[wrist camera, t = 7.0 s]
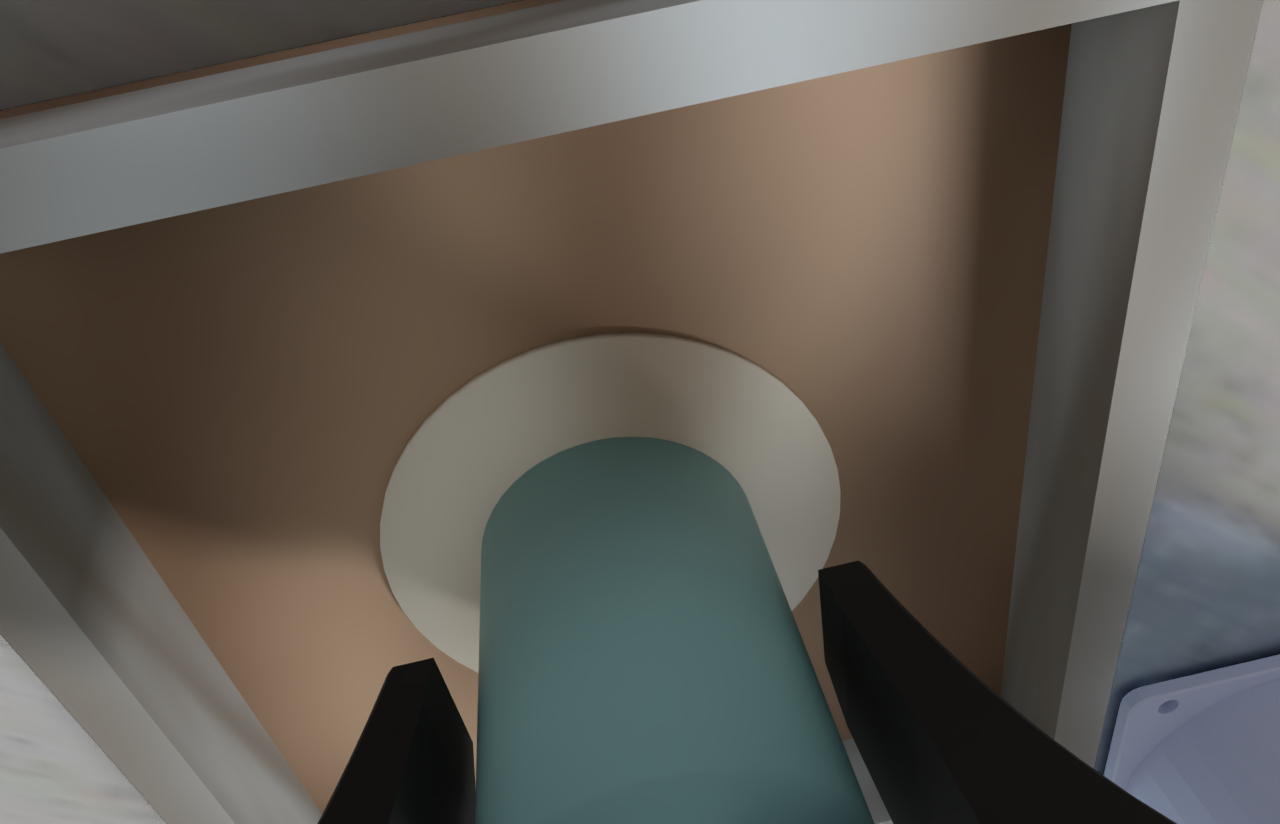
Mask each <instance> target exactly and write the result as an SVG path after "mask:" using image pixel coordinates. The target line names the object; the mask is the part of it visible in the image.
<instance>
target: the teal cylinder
mask: <svg viewBox="0 0 1280 824" xmlns="http://www.w3.org/2000/svg"><path fill="white" fill-rule="evenodd" d="M475 824H874V821H873V819H872V816H871V813H870V811H869V808H868V806H867V803H866V801H865V798H864V795H863V793H862V790H861V788H860V785H859V783H858V780H857V778H856V775H855V772H854V770H853V767H852V765H851V762H850V760H849V757H848V755H847V752H846V749H845V747H844V744H843V742H842V739H841V737H840V734H839V731H838V729H837V726H836V724H835V721H834V719H833V716H832V714H831V711H830V708H829V706H828V703H827V701H826V698H825V696H824V693H823V691H822V688H821V685H820V683H819V680H818V678H817V675H816V673H815V670H814V667H813V665H812V662H811V660H810V657H809V655H808V652H807V650H806V647H805V644H804V642H803V639H802V637H801V634H800V632H799V629H798V627H797V624H796V621H795V619H794V616H793V614H792V611H791V609H790V606H789V603H788V601H787V598H786V596H785V593H784V591H783V588H782V586H781V583H780V580H779V578H778V575H777V573H776V570H775V568H774V565H773V563H772V560H771V557H770V555H769V552H768V550H767V547H766V545H765V542H764V540H763V537H762V534H761V532H760V529H759V527H758V524H757V522H756V519H755V516H754V514H753V511H752V509H751V506H750V504H749V501H748V499H747V496H746V494H745V492H744V491H743V489H742V487H741V486H740V484H739V483H738V481H737V480H736V479H735V478H734V477H733V476H732V474H731V473H730V472H729V471H728V470H727V469H725V468H724V467H723V466H722V465H721V464H720V463H718V462H717V461H716V460H714V459H712V458H711V457H709V456H708V455H706V454H704V453H702V452H700V451H698V450H696V449H693V448H691V447H689V446H686V445H683V444H679V443H676V442H673V441H668V440H663V439H657V438H648V437H615V438H608V439H602V440H596V441H592V442H588V443H584V444H581V445H577V446H574V447H572V448H569V449H566V450H564V451H561V452H559V453H557V454H555V455H553V456H551V457H549V458H547V459H545V460H543V461H541V462H540V463H538V464H537V465H535V466H534V467H532V468H531V469H529V470H528V471H527V472H525V473H524V474H523V475H522V476H521V477H520V478H518V479H517V480H516V481H515V482H514V483H513V484H512V485H511V486H510V487H509V488H508V490H507V491H506V492H505V493H504V494H503V495H502V496H501V498H500V499H499V501H498V503H497V504H496V506H495V507H494V509H493V510H492V513H491V515H490V517H489V519H488V521H487V524H486V527H485V531H484V535H483V540H482V550H481V588H480V630H479V672H478V715H477V757H476V799H475Z"/></svg>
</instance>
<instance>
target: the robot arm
mask: <svg viewBox="0 0 1280 824" xmlns="http://www.w3.org/2000/svg"><path fill="white" fill-rule="evenodd" d="M818 577H819V590H820V604H821V617H822V631H823V644H824V658H825V663H826V666H827V669H828V672H829V675H830V678H831V681H832V684H833V687H834V690H835V693H836V696H837V698H838V701H839V704H840V707H841V710H842V713H843V715H844V718H845V721H846V724H847V726H848V729H849V731H850V733H851V735H852V737H853V739H854V742H855V744H856V746H857V748H858V750H859V752H860V754H861V757H862V759H863V761H864V763H865V765H866V767H867V769H868V771H869V774H870V776H871V778H872V780H873V782H874V784H875V786H876V788H877V790H878V792H879V795H880V797H881V799H882V801H883V803H884V805H885V807H886V809H887V811H888V814H889V816H890V818H891V820H892V822H893V824H1280V654H1279V655H1274V656H1270V657H1266V658H1261V659H1257V660H1253V661H1249V662H1244V663H1240V664H1236V665H1232V666H1227V667H1223V668H1219V669H1214V670H1210V671H1206V672H1202V673H1197V674H1193V675H1189V676H1184V677H1180V678H1176V679H1172V680H1167V681H1163V682H1159V683H1155V684H1150V685H1146V686H1142V687H1139V688H1136V689H1134V690H1132V691H1130V692H1129V693H1127V694H1126V695H1125V696H1124V697H1123V699H1122V701H1121V703H1120V707H1119V711H1118V716H1117V720H1116V724H1115V729H1114V733H1113V737H1112V742H1111V746H1110V750H1109V754H1108V759H1107V763H1106V767H1105V772H1104V776H1103V775H1102V774H1100V773H1099V772H1098V771H1096V770H1095V769H1093V768H1092V767H1090V766H1089V765H1088V764H1086V763H1085V762H1084V761H1082V760H1081V759H1079V758H1078V757H1077V756H1075V755H1074V754H1073V753H1071V752H1070V751H1069V750H1067V749H1066V748H1064V747H1063V746H1062V745H1060V744H1059V743H1058V742H1056V741H1055V740H1054V739H1052V738H1051V737H1050V736H1049V735H1047V734H1046V733H1045V732H1043V731H1042V730H1041V729H1040V728H1038V727H1037V726H1036V725H1034V724H1033V723H1032V722H1031V721H1029V720H1028V719H1027V718H1026V717H1024V716H1023V715H1022V714H1021V713H1020V712H1018V711H1017V710H1016V709H1015V708H1014V707H1012V706H1011V705H1010V704H1009V703H1008V702H1006V701H1005V700H1004V699H1003V698H1002V697H1000V696H999V695H998V694H997V693H996V692H994V691H993V690H992V689H991V688H990V687H989V686H987V685H986V684H985V683H984V682H983V681H982V680H981V679H979V678H978V677H977V676H976V675H975V674H974V673H973V672H972V671H970V670H969V669H968V668H967V667H966V666H965V665H964V664H963V663H962V662H961V661H960V660H958V659H957V658H956V657H955V656H954V655H953V654H952V653H951V652H950V651H949V650H948V649H947V648H945V647H944V646H943V645H942V644H941V643H940V642H939V641H938V640H937V639H936V638H935V637H934V636H933V635H932V634H931V633H930V632H929V631H928V630H927V629H926V628H925V627H924V626H923V625H922V624H921V623H920V622H919V621H918V620H917V619H916V618H915V617H914V616H913V615H912V614H911V613H910V612H909V611H908V610H907V609H906V608H905V607H904V606H903V605H902V604H901V603H900V602H899V601H898V600H897V599H896V598H895V597H894V596H893V595H892V594H891V593H890V591H889V590H888V589H887V588H886V587H885V586H884V585H883V584H882V583H881V582H880V581H879V579H878V578H877V577H876V576H875V575H874V574H873V573H872V572H871V570H870V569H869V568H868V567H867V566H866V565H865V564H863V563H862V562H860V561H854V562H850V563H846V564H841V565H837V566H832V567H828V568H824V569H819V570H818ZM475 799H476V788H475V768H474V751H473V741H472V739H471V737H470V735H469V733H468V731H467V728H466V726H465V724H464V722H463V720H462V718H461V715H460V713H459V711H458V709H457V707H456V705H455V703H454V700H453V698H452V696H451V694H450V692H449V690H448V687H447V685H446V683H445V681H444V679H443V677H442V675H441V672H440V670H439V668H438V666H437V664H436V662H435V659H434V658H430V659H425V660H421V661H417V662H412V663H408V664H403V665H399V666H395V667H392V669H391V670H390V671H389V673H388V674H387V676H386V679H385V681H384V683H383V686H382V688H381V690H380V693H379V695H378V697H377V700H376V702H375V704H374V707H373V709H372V711H371V713H370V716H369V718H368V720H367V722H366V725H365V727H364V729H363V731H362V734H361V736H360V738H359V740H358V742H357V744H356V746H355V749H354V751H353V753H352V755H351V757H350V759H349V762H348V764H347V766H346V768H345V770H344V772H343V774H342V776H341V778H340V780H339V782H338V784H337V786H336V788H335V790H334V792H333V794H332V796H331V798H330V800H329V802H328V804H327V806H326V808H325V810H324V812H323V814H322V816H321V818H320V820H319V822H318V824H475Z"/></svg>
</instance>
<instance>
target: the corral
mask: <svg viewBox="0 0 1280 824" xmlns="http://www.w3.org/2000/svg"><path fill="white" fill-rule="evenodd" d="M1262 4H1263V0H521V1H517V2H512V3H507V4H502V5H498V6H493V7H488V8H483V9H479V10H474V11H469V12H464V13H460V14H455V15H450V16H445V17H441V18H436V19H431V20H427V21H422V22H417V23H412V24H408V25H403V26H398V27H393V28H389V29H384V30H379V31H374V32H370V33H365V34H360V35H355V36H351V37H346V38H341V39H336V40H332V41H327V42H322V43H317V44H313V45H308V46H303V47H299V48H294V49H289V50H284V51H280V52H275V53H270V54H265V55H261V56H256V57H251V58H246V59H242V60H237V61H232V62H227V63H223V64H218V65H213V66H208V67H204V68H199V69H194V70H189V71H185V72H180V73H175V74H171V75H166V76H161V77H156V78H152V79H147V80H142V81H137V82H133V83H128V84H123V85H118V86H114V87H109V88H104V89H99V90H95V91H90V92H85V93H80V94H76V95H71V96H66V97H61V98H57V99H52V100H47V101H42V102H38V103H33V104H28V105H24V106H19V107H14V108H9V109H5V110H0V634H1V635H2V637H3V638H4V639H5V640H6V641H7V642H8V643H9V645H10V646H11V647H12V648H13V649H14V650H15V651H16V653H17V654H18V655H19V656H20V657H21V658H22V659H23V661H24V662H25V663H26V664H27V665H28V666H29V667H30V669H31V670H32V671H33V672H34V673H35V674H36V675H37V677H38V678H39V679H40V680H41V681H42V682H43V683H44V685H45V686H46V687H47V688H48V689H49V690H50V691H51V692H52V694H53V695H54V696H55V697H56V698H57V699H58V700H59V702H60V703H61V704H62V705H63V706H64V707H65V708H66V710H67V711H68V712H69V713H70V714H71V715H72V716H73V718H74V719H75V720H76V721H77V722H78V723H79V724H80V726H81V727H82V728H83V729H84V730H85V731H86V732H87V734H88V735H89V736H90V737H91V738H92V739H93V740H94V742H95V743H96V744H97V745H98V746H99V747H100V748H101V750H102V751H103V752H104V753H105V754H106V755H107V756H108V758H109V759H110V760H111V761H112V762H113V763H114V764H115V766H116V767H117V768H118V769H119V770H120V771H121V772H122V774H123V775H124V776H125V777H126V778H127V779H128V780H129V782H130V783H131V784H132V785H133V786H134V787H135V788H136V790H137V791H138V792H139V793H140V794H141V795H142V796H143V797H144V799H145V800H146V801H147V802H148V803H149V804H150V805H151V807H152V808H153V809H154V810H155V811H156V812H157V813H158V815H159V816H160V817H161V818H162V819H163V820H164V821H165V823H166V824H318V822H319V820H320V818H321V816H322V814H323V812H324V810H325V808H326V806H327V804H328V802H329V800H330V798H331V796H332V794H333V792H334V790H335V788H336V786H337V784H338V782H339V780H340V778H341V776H342V774H343V772H344V770H345V768H346V766H347V764H348V762H349V759H350V757H351V755H352V753H353V751H354V749H355V746H356V744H357V742H358V740H359V738H360V736H361V734H362V731H363V729H364V727H365V725H366V722H367V720H368V718H369V716H370V713H371V711H372V709H373V707H374V704H375V702H376V700H377V697H378V695H379V693H380V690H381V688H382V686H383V683H384V681H385V679H386V676H387V674H388V673H389V671H390V670H391V669H392V667H395V666H399V665H403V664H408V663H412V662H417V661H421V660H425V659H430V658H434V659H435V662H436V664H437V666H438V668H439V670H440V672H441V675H442V677H443V679H444V681H445V683H446V685H447V687H448V690H449V692H450V694H451V696H452V698H453V700H454V703H455V705H456V707H457V709H458V711H459V713H460V715H461V718H462V720H463V722H464V724H465V726H466V728H467V731H468V733H469V735H470V737H471V739H472V741H473V751H474V768H475V788H476V757H477V715H478V672H479V630H480V588H481V550H482V540H483V535H484V531H485V527H486V524H487V521H488V519H489V517H490V515H491V513H492V510H493V509H494V507H495V506H496V504H497V503H498V501H499V499H500V498H501V496H502V495H503V494H504V493H505V492H506V491H507V490H508V488H509V487H510V486H511V485H512V484H513V483H514V482H515V481H516V480H517V479H518V478H520V477H521V476H522V475H523V474H524V473H525V472H527V471H528V470H529V469H531V468H532V467H534V466H535V465H537V464H538V463H540V462H541V461H543V460H545V459H547V458H549V457H551V456H553V455H555V454H557V453H559V452H561V451H564V450H566V449H569V448H572V447H574V446H577V445H581V444H584V443H588V442H592V441H596V440H602V439H608V438H615V437H648V438H657V439H663V440H668V441H673V442H676V443H679V444H683V445H686V446H689V447H691V448H693V449H696V450H698V451H700V452H702V453H704V454H706V455H708V456H709V457H711V458H712V459H714V460H716V461H717V462H718V463H720V464H721V465H722V466H723V467H724V468H725V469H727V470H728V471H729V472H730V473H731V474H732V476H733V477H734V478H735V479H736V480H737V481H738V483H739V484H740V486H741V487H742V489H743V491H744V492H745V494H746V496H747V499H748V501H749V504H750V506H751V509H752V511H753V514H754V516H755V519H756V522H757V524H758V527H759V529H760V532H761V534H762V537H763V540H764V542H765V545H766V547H767V550H768V552H769V555H770V557H771V560H772V563H773V565H774V568H775V570H776V573H777V575H778V578H779V580H780V583H781V586H782V588H783V591H784V593H785V596H786V598H787V601H788V603H789V606H790V609H791V611H792V614H793V616H794V619H795V621H796V624H797V627H798V629H799V632H800V634H801V637H802V639H803V642H804V644H805V647H806V650H807V652H808V655H809V657H810V660H811V662H812V665H813V667H814V670H815V673H816V675H817V678H818V680H819V683H820V685H821V688H822V691H823V693H824V696H825V698H826V701H827V703H828V706H829V708H830V711H831V714H832V716H833V719H834V721H835V724H836V726H837V729H838V731H839V734H840V737H841V739H842V742H843V744H844V747H845V749H846V752H847V755H848V757H849V760H850V762H851V765H852V767H853V770H854V772H855V775H856V778H857V780H858V783H859V785H860V788H861V790H862V793H863V795H864V798H865V801H866V803H867V806H868V808H869V811H870V813H871V816H872V819H873V821H874V824H893V822H892V820H891V818H890V816H889V814H888V811H887V809H886V807H885V805H884V803H883V801H882V799H881V797H880V795H879V792H878V790H877V788H876V786H875V784H874V782H873V780H872V778H871V776H870V774H869V771H868V769H867V767H866V765H865V763H864V761H863V759H862V757H861V754H860V752H859V750H858V748H857V746H856V744H855V742H854V739H853V737H852V735H851V733H850V731H849V729H848V726H847V724H846V721H845V718H844V715H843V713H842V710H841V707H840V704H839V701H838V698H837V696H836V693H835V690H834V687H833V684H832V681H831V678H830V675H829V672H828V669H827V666H826V663H825V658H824V644H823V631H822V617H821V604H820V590H819V577H818V570H819V569H824V568H828V567H832V566H837V565H841V564H846V563H850V562H854V561H860V562H862V563H863V564H865V565H866V566H867V567H868V568H869V569H870V570H871V572H872V573H873V574H874V575H875V576H876V577H877V578H878V579H879V581H880V582H881V583H882V584H883V585H884V586H885V587H886V588H887V589H888V590H889V591H890V593H891V594H892V595H893V596H894V597H895V598H896V599H897V600H898V601H899V602H900V603H901V604H902V605H903V606H904V607H905V608H906V609H907V610H908V611H909V612H910V613H911V614H912V615H913V616H914V617H915V618H916V619H917V620H918V621H919V622H920V623H921V624H922V625H923V626H924V627H925V628H926V629H927V630H928V631H929V632H930V633H931V634H932V635H933V636H934V637H935V638H936V639H937V640H938V641H939V642H940V643H941V644H942V645H943V646H944V647H945V648H947V649H948V650H949V651H950V652H951V653H952V654H953V655H954V656H955V657H956V658H957V659H958V660H960V661H961V662H962V663H963V664H964V665H965V666H966V667H967V668H968V669H969V670H970V671H972V672H973V673H974V674H975V675H976V676H977V677H978V678H979V679H981V680H982V681H983V682H984V683H985V684H986V685H987V686H989V687H990V688H991V689H992V690H993V691H994V692H996V693H997V694H998V695H999V696H1000V697H1002V698H1003V699H1004V700H1005V701H1006V702H1008V703H1009V704H1010V705H1011V706H1012V707H1014V708H1015V709H1016V710H1017V711H1018V712H1020V713H1021V714H1022V715H1023V716H1024V717H1026V718H1027V719H1028V720H1029V721H1031V722H1032V723H1033V724H1034V725H1036V726H1037V727H1038V728H1040V729H1041V730H1042V731H1043V732H1045V733H1046V734H1047V735H1049V736H1050V737H1051V738H1052V739H1054V740H1055V741H1056V742H1058V743H1059V744H1060V745H1062V746H1063V747H1064V748H1066V749H1067V750H1069V751H1070V752H1071V753H1073V754H1074V755H1075V756H1077V757H1078V758H1079V759H1081V760H1082V761H1084V762H1085V763H1086V764H1088V765H1089V766H1090V767H1092V768H1093V769H1094V767H1095V762H1096V758H1097V753H1098V749H1099V744H1100V740H1101V735H1102V731H1103V726H1104V721H1105V717H1106V712H1107V708H1108V703H1109V699H1110V694H1111V690H1112V685H1113V681H1114V676H1115V671H1116V667H1117V662H1118V658H1119V653H1120V649H1121V644H1122V640H1123V635H1124V631H1125V626H1126V621H1127V617H1128V612H1129V608H1130V603H1131V599H1132V594H1133V590H1134V585H1135V581H1136V576H1137V571H1138V567H1139V562H1140V558H1141V553H1142V549H1143V544H1144V540H1145V535H1146V531H1147V526H1148V522H1149V517H1150V512H1151V508H1152V503H1153V499H1154V494H1155V490H1156V485H1157V481H1158V476H1159V472H1160V467H1161V462H1162V458H1163V453H1164V449H1165V444H1166V440H1167V435H1168V431H1169V426H1170V422H1171V417H1172V412H1173V408H1174V403H1175V399H1176V394H1177V390H1178V385H1179V381H1180V376H1181V372H1182V367H1183V362H1184V358H1185V353H1186V349H1187V344H1188V340H1189V335H1190V331H1191V326H1192V322H1193V317H1194V312H1195V308H1196V303H1197V299H1198V294H1199V290H1200V285H1201V281H1202V276H1203V272H1204V267H1205V263H1206V258H1207V253H1208V249H1209V244H1210V240H1211V235H1212V231H1213V226H1214V222H1215V217H1216V213H1217V208H1218V203H1219V199H1220V194H1221V190H1222V185H1223V181H1224V176H1225V172H1226V167H1227V163H1228V158H1229V153H1230V149H1231V144H1232V140H1233V135H1234V131H1235V126H1236V122H1237V117H1238V113H1239V108H1240V103H1241V99H1242V94H1243V90H1244V85H1245V81H1246V76H1247V72H1248V67H1249V63H1250V58H1251V53H1252V49H1253V44H1254V40H1255V35H1256V31H1257V26H1258V22H1259V17H1260V13H1261V8H1262Z"/></svg>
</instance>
